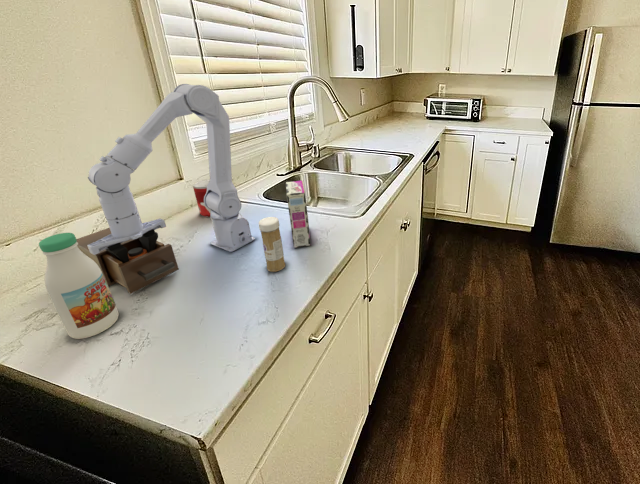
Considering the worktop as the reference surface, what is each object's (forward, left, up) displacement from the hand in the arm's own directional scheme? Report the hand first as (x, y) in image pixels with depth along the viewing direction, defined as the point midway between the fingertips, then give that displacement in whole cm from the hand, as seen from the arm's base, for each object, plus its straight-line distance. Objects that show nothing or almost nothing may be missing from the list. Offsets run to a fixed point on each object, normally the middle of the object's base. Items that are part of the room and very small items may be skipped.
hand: (140, 265), depth 79 cm
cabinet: (+10, 0, -3) cm, 11 cm away
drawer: (-2, 0, -3) cm, 3 cm away
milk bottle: (-9, +13, -4) cm, 16 cm away
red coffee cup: (+20, -31, -4) cm, 37 cm away
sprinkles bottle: (-26, -18, -4) cm, 32 cm away
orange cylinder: (0, 0, -1) cm, 1 cm away
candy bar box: (-21, -32, -4) cm, 38 cm away
